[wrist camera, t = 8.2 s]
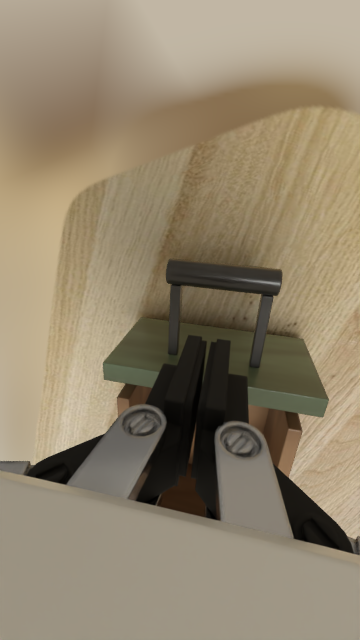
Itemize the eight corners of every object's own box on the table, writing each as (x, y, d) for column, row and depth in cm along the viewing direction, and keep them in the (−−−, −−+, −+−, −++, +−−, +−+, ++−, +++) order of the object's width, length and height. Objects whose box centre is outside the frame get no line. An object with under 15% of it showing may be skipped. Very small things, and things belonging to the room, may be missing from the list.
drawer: (141, 241, 21) (95, 261, 14) (324, 257, 19) (366, 289, 12) (141, 449, 29) (112, 519, 23) (267, 475, 27) (275, 561, 21)
